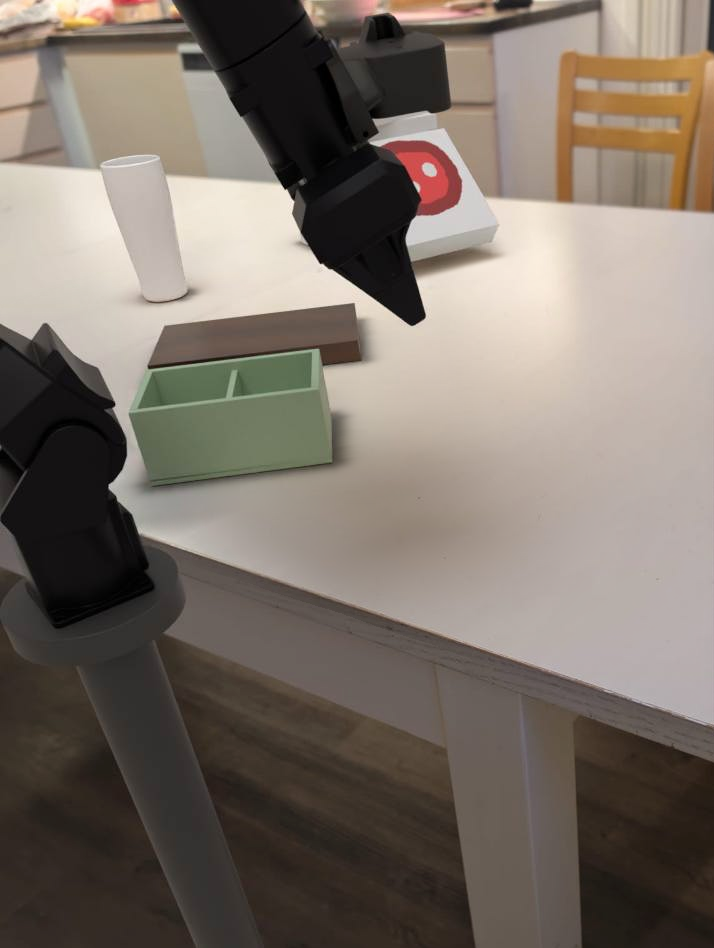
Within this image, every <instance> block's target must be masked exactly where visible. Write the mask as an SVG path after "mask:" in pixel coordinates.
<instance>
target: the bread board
mask: <svg viewBox="0 0 714 948" xmlns="http://www.w3.org/2000/svg"><path fill="white" fill-rule="evenodd" d="M359 332H360V331H359V323H358V316H357V310H356V303H355V302H350V303H343V304H342V303H340V304H333V305H326V306H325V305H324V306H318V307H308V308H301V309H292V310H283V311H277V312H275V311H274V312H267V313H259V314H250V315H241V316H233V317H226V318H217V319H208V320H201V321H199V320H198V321H192V322H183V323H175V324H167V325H164V326H163V328H162V330H161V333H160V334H159V337H158V340H157V342H156V345H155V347H154V349H153V351H152V354H151V356H150V359H149V360H148V363H147V366H146V367H147V370H149V369H157V368H165V367H173V366H181V365H189V364H198V363H206V362H214V361H222V360H230V359H238V358H246V357H255V356H263V355H271V354H279V353H287V352H295V351H303V350H312V349H319V350H320V356H321V361H322V366H325V365H332V364H333V365H334V364H340V363H348V362H357V361H362V355H361V344H360V343H361V342H360V334H359Z"/></svg>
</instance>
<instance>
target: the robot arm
mask: <svg viewBox="0 0 714 948" xmlns="http://www.w3.org/2000/svg"><path fill="white" fill-rule="evenodd" d="M171 2H172V4H173V5H174V7H175V8H176V10H177V12H178V14H179V16H180V17H181V18H182V20H183V22H184V24H185V25H186V27H187V29H188V30H189V32H190V33H191V35H192V37H193V38H194V40H195V42H196V43H197V45H198V47H199V48H200V50H201V51H202V53H203V55H204V57H205V58H206V60H207V62H208V63H209V65H210V67H211V68H212V70H213V71H214V73H215V75H216V76H217V78H218V80H219V81H220V83H221V85H222V86H223V89H224V90H225V91H226V94H227V97H228V99H229V100H230V102H231V104H232V105H233V107H234V109H235V111H236V112H237V114H238V115H239V117H240V118H241V119H242V120H243V121H244V123H245V124H246V126H247V127H248V129H249V131H250V133H251V135H252V136H253V138H254V139H255V141H256V143H257V144H258V146H259V148H260V149H261V151H262V153H263V154H264V156H265V158H266V161H267V162H268V165H269V166H270V168H271V170H272V171H273V173H274V175H275V177H276V178H277V180H278V181H279V183H280V185H281V186H282V188H283V190H284V191H287V192H288V195H289V197H290V199H291V200H292V201H293V207H292V212H291V215H292V218H293V219H294V222H295V224H296V226H297V229H298V230H299V233H300V232H301V234H302V236H303V237H304V239H305V241H306V242H307V244H308V245H307V246H308V247H309V249H310V251H311V252H312V254H313V256H314V257H315V258H316V261H317V262H318V264H319V265H323V266H324V267H325V268H326V269H327V270H331V271H333V272H335V273H336V274H337V275H339V276H341V277H342V278H344V279H345V280H346V281H348V282H349V283H350V284H352V285H353V286H355V287H356V288H357V289H359V290H360V291H362V292H363V293H365V294H366V295H368V296H369V297H370V298H372V300H375V301H376V303H378V304H380V305H381V306H383V307H384V308H385V309H387V310H388V311H390V312H391V313H392V314H394V315H395V316H396V317H398V318H399V319H400V320H401V321H403V322H404V323H405V324H407V325H408V326H410V327H415V326H416V325H419V324H420V323H422V322H423V321H424V320H425V319H426V317H427V314H426V310H425V307H424V303H423V299H422V295H421V292H420V288H419V285H418V281H417V278H416V275H415V271H414V267H413V263H412V262H411V260H410V256H409V252H408V248H407V244H406V235H407V232H408V229H409V227H410V224H411V221H412V220H413V219H414V218H415V217H416V216H417V214H418V210H419V203H420V202H421V201H422V199H421V197H420V195H419V193H418V191H417V189H416V187H415V185H414V183H413V181H412V179H411V177H410V175H409V173H408V171H407V169H406V167H405V166H404V164H403V163H402V162H401V161H400V160H399V159H398V158H397V157H396V155H395V154H394V153H393V152H392V151H391V150H388V149H385V148H381V147H378V146H375V145H372V144H370V143H369V142H368V140H369V139H370V138H372V137H373V136H375V135H376V134H378V133H379V131H378V129H377V127H376V125H375V123H374V121H373V119H384V118H390V117H395V116H401V115H406V114H411V113H417V112H422V111H428V112H427V113H431V114H438V113H443V112H445V111H449V110H450V109H451V108H452V100H451V99H452V98H451V90H450V79H449V72H448V63H447V62H448V61H447V54H446V52H447V51H446V46H445V45H446V43H445V41H444V40H442V39H440V38H438V37H437V36H436V35H433V34H431V33H430V32H429V33H428V32H420V31H418V30H414V31H411V33H409V34H406V32H405V31H404V29H403V27H402V25H401V24H400V22H399V21H398V19H397V18H396V16H394V15H393V14H391V13H390V12H383V13H378V14H377V13H376V14H372V15H366V16H364V19H363V23H362V27H361V32H360V36H359V39H358V42H357V41H352V42H349V45H348V46H342V47H337V48H336V47H335V45H334V43H333V41H332V39H331V38H330V37H328V36H325V35H324V34H323V32H322V30H321V29H320V28H319V27H317V28H315V25H314V24H313V22H312V20H311V18H310V16H309V14H308V12H307V10H306V9H305V7H304V5H303V2H302V0H171ZM116 406H117V403H116V401H115V399H114V397H113V395H112V393H111V391H110V389H109V387H108V385H107V383H106V380H105V379H104V377H103V375H102V372H101V370H100V369H99V367H98V366H95V365H92V364H90V363H88V362H85V361H84V360H83V359H82V358H80V357H78V356H77V355H75V354H74V353H73V352H72V350H70V349H69V348H68V346H67V345H66V344H65V343H64V341H63V340H62V339H61V337H59V335H58V334H57V332H56V331H55V330H54V329H53V328H52V326H51V325H50V324H49V323H48V322H43V323H42V324H41V326H40V327H39V329H37V331H36V333H35V334H34V335H33V337H32V338H31V339H30V338H29V337H26V336H25V335H23V334H21V333H19V332H17V331H15V330H13V329H11V328H9V327H8V326H5V325H3V324H2V323H0V523H1V524H2V526H3V528H4V530H5V533H6V535H7V538H8V539H9V543H10V544H11V546H12V548H13V549H12V550H13V552H14V553H15V556H16V558H17V560H18V562H19V565H20V568H21V569H22V572H23V574H24V577H25V576H26V579H27V582H26V583H25V587H26V590H27V592H28V593H29V594H30V596H31V597H32V599H33V600H34V601H35V603H36V604H37V605H38V607H39V608H40V610H41V611H42V612H43V614H44V615H45V617H46V618H47V619H48V621H49V622H50V623H51V625H52V626H53V627H54V628H55V629H61V628H64V627H67V626H69V625H71V624H74V623H76V622H79V621H81V620H83V619H86V618H88V617H91V616H93V615H96V614H98V613H100V612H103V611H105V610H108V609H110V608H112V607H115V606H117V605H120V604H122V603H125V602H127V601H129V600H132V599H134V598H137V597H139V596H141V595H144V594H146V593H149V592H151V591H153V590H154V589H155V586H154V583H153V580H152V579H151V578H150V577H149V576H148V575H147V574H146V573H145V572H144V571H145V570H147V569H148V567H149V562H148V559H147V556H146V554H145V551H144V548H143V545H144V544H143V543H142V539H141V536H140V533H139V530H138V527H137V523H136V522H135V518H134V515H133V513H131V511H129V510H128V509H127V508H126V507H125V505H123V504H122V503H121V502H120V501H119V500H118V498H117V495H116V494H115V493H114V492H113V491H112V490H111V489H110V485H111V484H112V483H114V482H115V480H116V479H117V478H118V477H119V475H120V474H121V473H122V471H123V470H124V467H125V464H126V461H127V459H128V458H127V457H128V441H127V436H126V434H125V431H124V430H123V427H122V425H121V423H120V420H119V419H118V417H117V414H116V413H115V410H114V408H116Z"/></svg>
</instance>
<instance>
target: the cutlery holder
mask: <svg viewBox="0 0 714 948" xmlns="http://www.w3.org/2000/svg"><path fill="white" fill-rule="evenodd" d="M127 415H128V418H129V421H130V424H131V427H132V430H133V433H134V436H135V440H136V442H137V443H136V444H137V447H138V449H139V452H140V455H141V458H142V462H143V464H144V468H145V470H146V473H147V477H148V481H149V483H150V487H154V486H162V485H170V484H179V483H185V482H193V481H194V482H195V481H200V480H207V479H208V480H209V479H216V478H224V477H231V476H240V475H246V474H254V473H261V472H262V473H263V472H270V471H277V470H286V469H294V468H300V467H308V466H316V465H323V464H330V463H333V461H334V460H333V422H332V421H333V419H332V418H333V417H332V411H331V405H330V400H329V395H328V389H327V385H326V378H325V372H324V367H323V365H322V361H321V356H320V350H319V349H312V350H303V351H295V352H287V353H279V354H271V355H263V356H255V357H246V358H238V359H230V360H222V361H214V362H206V363H198V364H189V365H181V366H173V367H165V368H157V369H149V370H148V369H146V370H145V373H144V375H143V377H142V380H141V382H140V384H139V387H138V389H137V391H136V392H135V395H134V398H133V401H132V402H131V405H130V407H129V410H128V412H127Z"/></svg>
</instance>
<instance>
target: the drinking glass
mask: <svg viewBox="0 0 714 948" xmlns="http://www.w3.org/2000/svg"><path fill="white" fill-rule="evenodd" d="M99 168H100V172H101V176H102V177H101V178H102V181H103V185H104V188H105V192H106V195H107V198H108V201H109V204H110V205H109V206H110V207H111V210H112V213H113V216H114V218H115V220H116V223H117V226H118V229H119V232H120V234H121V237H122V239H123V242H124V244H125V245H124V246H125V247H126V250H127V253H128V256H129V258H130V261H131V264H132V266H133V269H134V272H135V275H136V277H137V280H138V283H139V287H140V290H141V293H142V296H143V298H144V299H145V300H147V301H149V302H155V303H163V302H169V301H173V300H177V299H180V298H182V297H184V296H185V295H186V294H187V292H188V289H189V287H188V283H187V280H186V276H185V270H184V265H183V260H182V255H181V249H180V248H181V247H180V244H179V243H180V242H179V238H178V231H177V225H176V220H175V214H174V208H173V201H172V197H171V193H170V188H169V184H168V179H167V177H166V173H165V170H164V166H163V163H162V159H161V157H160V156H159V155H157V154H137V155H136V154H135V155H128V156H122V157H115V158H113V159H109V160H106V161H105V160H104V161H103V162H101V163H100V164H99Z"/></svg>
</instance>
